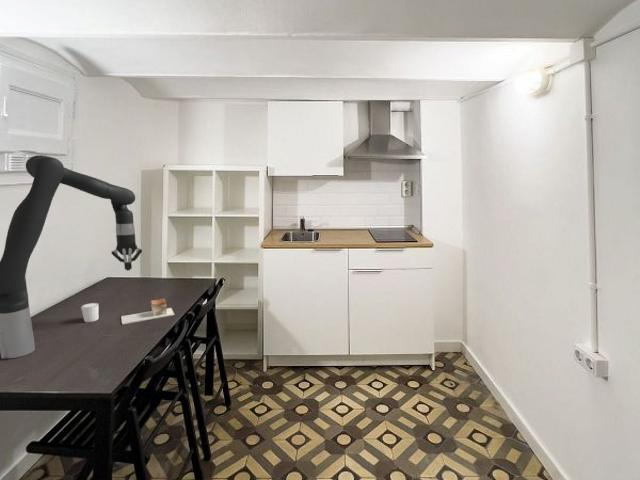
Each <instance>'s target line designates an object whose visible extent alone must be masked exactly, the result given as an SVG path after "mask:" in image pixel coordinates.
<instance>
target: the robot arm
mask: <svg viewBox="0 0 640 480" xmlns="http://www.w3.org/2000/svg"><path fill="white" fill-rule="evenodd" d="M25 169H26V171H27V173H28V174H29V175H30V176H31V177H32V178H33V181H32V183H31V187H30V190H29V192H28V193H27V194H26V196H25V198H24V199H23V200H22V201H21V202H20V203H19V205H18V206H17V207H16V209H15V210H14V212H13V214H12V216H11V220H10V223H9V226H8V229H7V232H6V233H7V234H6V238H5V245H4V249H3V253H2V256H1V259H0V358H1V360H3V359H16V358H21V357H23V356H24V357H25V356H27V355H30V354H31V353H33V352H34V351H35V350H36V344H35V338H34V332H33V323H32V317H31V309H30V304H29V294H28V287H27V280H26V276H27V275H26V274H27V270H28V269H27V268H28V265H29V261H30V259H31V256H32V254H33V252H34V249H35V248H36V246H37V244H38V241H39V239H40V237H41V235H42V232H43V229H44V227H45V223H46V221H47V220H46V219H47V217H48V215H49V211H50V208H51V205H52V201H53V199H54V197H55V194H56V192H57V191H58V188H59V186H60V184H61V185H65V186H68V187H70V188H74V189H76V190H79V191H81V192H84V193H86V194H89V195H92V196H95V197H98V198H100V199H105V200H110V203H111V207H112V209H113V210H112V211H113V212H114V215H115V237H116V247H115V249H114V250H112V251H111V255H112V256H113V257H114V258H115V259H117V260H118V261H119V262H120V263H123V265H124V270H125V271H127V272H128V271H131V270H132V266H133V265H132V262H135V261H136V260H137V259H138V258H139V256H140V255H141V253H143V250H142V248H139V247H138V245H137V243H136V229H135V225H134V224H135V223H134V213H133V211H132V210H130V209H129V208H128V206H130V205H132V204H133V203H135V201H136V194H135V193H134V192H133V190H130V189H128V188H126V187H122V186H118V185H114V184H112V183H110V182H108V181H107V182H106V181H105V180H102V179H100V178H97V177H94V176H91V175H87V174H83V173H81V172H77V171H75V170H72V169H69V168H67V167H65V166H64V164H63V163H62V162H61V161H60V160H59V159H58V158H56V157H51V156H47V155H42V154H41V155H38V154H37V155H33V156H31V157H29V158H28V159H27V160H26V161H25ZM135 252H136V253H135ZM134 253H135V254H134ZM119 254H120V255H122V256H123V258H122V257H121V256H119ZM133 254H134V255H133Z"/></svg>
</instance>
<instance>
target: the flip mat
mask: <svg viewBox="0 0 640 480" xmlns="http://www.w3.org/2000/svg"><path fill="white" fill-rule="evenodd" d="M171 316H175V313H174V310H173V309H172V307H168V308H167V314H165V315H159V316H153V314H152V310H151V311H150V310H149V311H144V312H139V313H132V314H128V315H122V316H121V325H128V324H134V323H138V322H139V323H140V322H143V321H149V320H155V319H162V318H166V317H167V318H168V317H171Z"/></svg>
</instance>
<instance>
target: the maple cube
mask: <svg viewBox="0 0 640 480" xmlns="http://www.w3.org/2000/svg"><path fill="white" fill-rule="evenodd" d="M150 303H151V304H150V306H151V311H152V314H153V316H159V315H165V314H167V307H168V306H167V301H166V299H165V298H161V299H153V300H150Z"/></svg>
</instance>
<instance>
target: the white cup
mask: <svg viewBox="0 0 640 480" xmlns="http://www.w3.org/2000/svg"><path fill="white" fill-rule="evenodd" d="M99 305H100V304H99V303H98V302H92V303H91V302H90V303H89V302H88V303H86V304H83V305H81V306H80V309H81V313H82V317H83V321H84V323H85V322H86V323H90V322H91V323H92V322H96V321H97V320H99V316H100V315H99V313H100V312H99Z"/></svg>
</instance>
